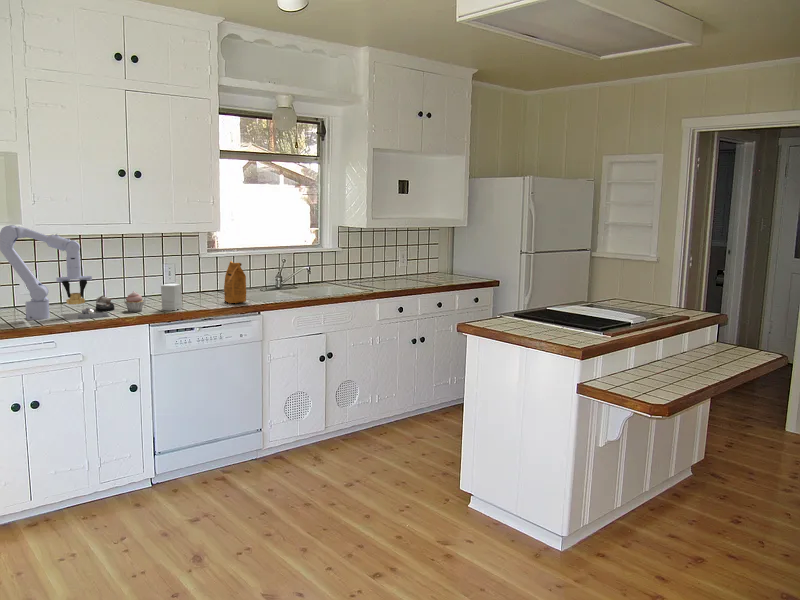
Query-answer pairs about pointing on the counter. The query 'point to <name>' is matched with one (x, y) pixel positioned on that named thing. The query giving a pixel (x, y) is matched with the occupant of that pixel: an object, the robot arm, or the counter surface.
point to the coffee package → (235, 284)
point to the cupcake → (134, 302)
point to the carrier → (85, 314)
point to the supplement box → (171, 296)
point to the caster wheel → (104, 304)
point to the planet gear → (75, 299)
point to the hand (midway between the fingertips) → (75, 297)
